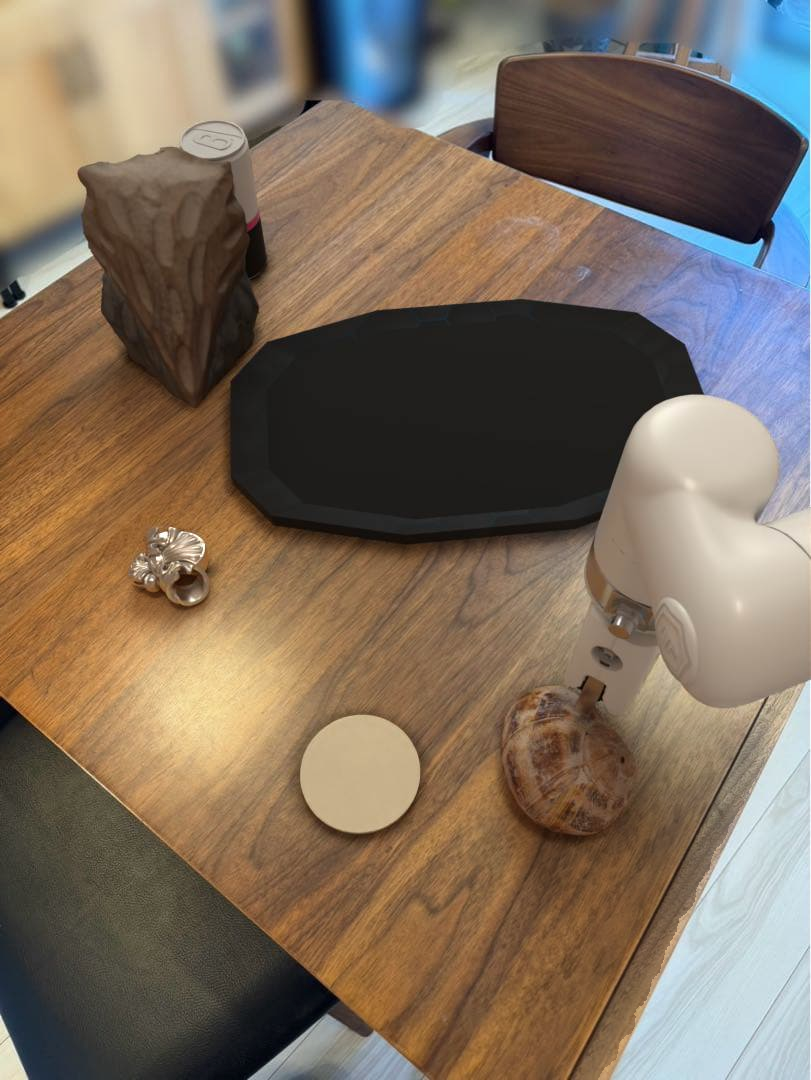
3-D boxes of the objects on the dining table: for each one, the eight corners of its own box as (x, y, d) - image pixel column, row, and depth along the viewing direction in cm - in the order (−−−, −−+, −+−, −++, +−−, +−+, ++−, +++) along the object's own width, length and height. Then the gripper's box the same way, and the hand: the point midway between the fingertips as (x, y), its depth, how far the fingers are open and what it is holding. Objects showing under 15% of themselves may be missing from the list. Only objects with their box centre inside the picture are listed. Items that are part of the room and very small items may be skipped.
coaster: (441, 751, 68) (441, 749, 68) (381, 857, 64) (381, 856, 63) (341, 696, 70) (340, 694, 70) (277, 795, 66) (276, 794, 66)
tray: (660, 298, 94) (663, 287, 93) (740, 513, 80) (745, 503, 78) (232, 332, 92) (230, 321, 91) (233, 560, 77) (230, 550, 76)
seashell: (661, 735, 68) (659, 753, 58) (603, 838, 68) (592, 873, 59) (539, 665, 71) (518, 671, 61) (484, 764, 71) (456, 785, 62)
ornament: (120, 554, 78) (108, 531, 74) (194, 524, 79) (186, 500, 76) (149, 627, 74) (138, 606, 71) (227, 593, 75) (219, 571, 72)
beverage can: (248, 291, 95) (223, 166, 83) (196, 274, 97) (164, 148, 84) (278, 254, 99) (259, 128, 86) (227, 238, 100) (201, 111, 87)
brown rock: (110, 348, 91) (42, 174, 74) (205, 285, 96) (161, 109, 79) (191, 412, 86) (138, 242, 69) (286, 342, 91) (258, 168, 74)
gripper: (664, 699, 49) (601, 795, 65) (752, 504, 56) (676, 633, 71) (540, 637, 51) (508, 744, 66) (639, 456, 58) (589, 592, 73)
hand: (595, 686), depth 69 cm, fingers closed
